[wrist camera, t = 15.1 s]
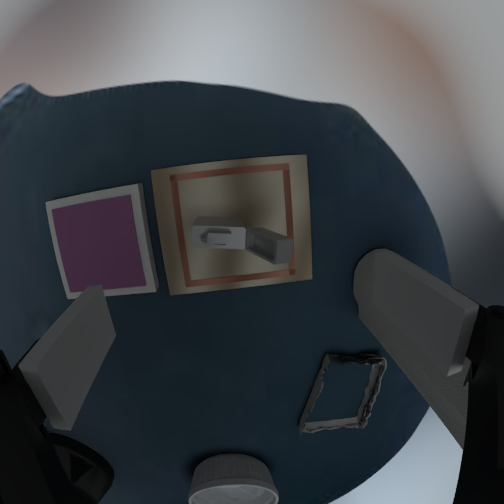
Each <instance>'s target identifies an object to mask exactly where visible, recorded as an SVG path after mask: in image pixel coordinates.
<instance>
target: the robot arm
mask: <svg viewBox="0 0 504 504" xmlns="http://www.w3.org/2000/svg"><path fill="white" fill-rule="evenodd" d="M372 304H373V305H374V306H375V307H376V308H377V309H379V310H380V311H381V312H382V313H383V314H384V315H385V316H386V317H387V318H388V319H389V320H390V321H391V322H392V323H393V324H394V325H395V326H396V327H397V328H398V329H399V330H400V331H401V332H402V333H403V334H404V335H406V336H407V337H408V338H409V339H410V340H411V341H412V342H413V343H414V344H415V345H416V346H417V347H418V348H419V349H420V350H421V351H422V352H423V353H424V354H425V355H426V356H427V357H428V358H429V359H430V360H431V361H432V362H433V363H434V364H435V365H436V366H437V367H438V368H439V369H440V370H441V371H442V373H443V374H444V375H445V376H446V377H448V376H450V375H453V374H455V373H457V372H459V371H461V370H462V367H463V364H464V361H465V358H466V357H467V358H468V359H469V360H470V361H471V364H470V367H469V370H468V373H467V376H466V378H465V381H464V384H463V386H466V383H467V382H468V406H467V420H466V431H465V440H464V447H463V455H462V461H461V467H460V473H459V479H458V483H457V488H456V493H455V497H454V501H453V504H504V306H500V305H492V306H489V307H488V308H485V307H483V306H482V305H480V304H479V303H477V302H476V301H474V300H472V299H471V298H469V297H467V296H466V295H464V294H463V293H462V294H461V292H459V291H458V290H456V289H454V288H453V287H450V286H448V285H446V284H445V283H443V282H441V281H440V280H438V279H436V278H435V277H433V276H431V275H430V274H428V273H426V272H424V271H423V270H421V269H419V268H418V267H416V266H414V265H412V264H411V263H409V262H407V261H405V260H403V259H402V258H400V257H398V256H396V255H395V254H393V253H391V252H389V251H383V252H375V263H374V283H373V298H372ZM115 337H116V333H115V330H114V326H113V323H112V320H111V316H110V313H109V309H108V306H107V302H106V299H105V295H104V291H103V287H102V285H95V286H88V287H87V288H86V289H85V290H84V291H83V292H82V293H81V294H80V295H79V296H78V297H77V298H76V300H75V301H74V302H73V303H72V304H71V305H70V306H69V307H68V308H67V309H66V310H65V311H64V313H63V314H62V315H61V316H60V317H59V318H58V319H57V320H56V321H55V322H54V324H53V325H52V326H51V327H50V328H49V329H48V330H47V332H46V333H45V334H44V335H43V336H42V337H41V338H39V339H38V340H37V341H35V343H34V344H33V345H32V346H31V347H30V349H29V350H28V351H27V352H26V353H25V355H24V356H23V357H22V358H21V359H20V360H19V362H18V363H17V364H16V365H15V367H14V368H13V369H11V367H10V365H9V363H8V361H7V359H6V357H5V355H4V353H3V351H2V350H0V504H98V503H99V502H100V500H101V499H102V498H103V496H104V495H105V494H106V492H107V491H108V489H110V487H111V486H112V482H113V478H114V471H113V469H112V468H111V466H110V465H109V464H108V463H107V462H106V461H105V460H104V459H103V458H102V457H101V456H100V455H98V454H97V453H95V452H94V451H93V450H91V449H89V448H88V447H86V446H84V445H82V444H80V443H78V442H76V441H74V440H72V439H69V438H66V437H64V436H60V435H56V434H48V431H47V430H46V428H45V427H44V425H43V422H44V420H45V418H46V417H47V418H48V420H49V421H50V423H51V425H52V426H53V428H56V429H62V430H69V431H71V429H72V427H73V425H74V422H75V420H76V418H77V415H78V413H79V411H80V409H81V407H82V404H83V402H84V400H85V398H86V396H87V394H88V391H89V389H90V387H91V385H92V383H93V381H94V379H95V377H96V375H97V373H98V371H99V369H100V366H101V364H102V362H103V360H104V358H105V356H106V355H107V353H108V351H109V349H110V347H111V345H112V343H113V341H114V339H115Z"/></svg>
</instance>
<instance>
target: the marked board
mask: <svg viewBox="0 0 504 504" xmlns="http://www.w3.org/2000/svg"><path fill="white" fill-rule="evenodd" d="M151 178H152V186H153V194H154V202H155V209H156V216H157V223H158V230H159V236H160V242H161V248H162V254H163V260H164V265H165V271H166V276H167V281H168V287H169V292H170V295H179V294H189V293H199V292H208V291H218V290H227V289H236V288H244V287H253V286H261V285H270V284H278V283H286V282H293V281H301V280H309V279H312V250H311V223H310V203H309V185H308V170H307V156H306V155H289V156H273V157H259V158H247V159H236V160H226V161H217V162H208V163H199V164H191V165H184V166H177V167H170V168H163V169H156V170H151ZM198 216H209V217H235V218H241V219H242V220H243V223H244V225H245V228H246V229H247V228H255V227H263V228H265V229H268V230H271V231H274V232H276V233H279V234H282V235H284V236H287V237H289V238H292V240H293V250H292V260H291V262H290V263H283V264H276V265H274V264H272V263H270V262H268V261H266V260H264V259H262V258H260V257H258V256H256V255H254V254H253V253H251V252H249V251H247V250H246V249H245V248H244V249H219V248H194V247H193V246H192V227H193V224H194V222H195V220H196V218H197V217H198Z"/></svg>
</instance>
